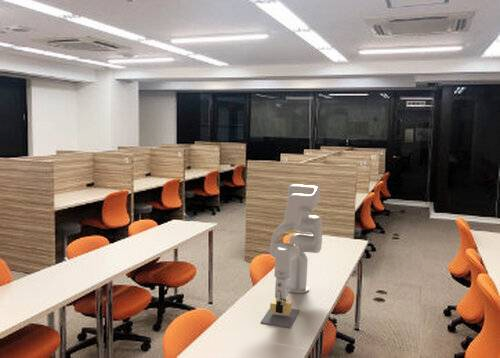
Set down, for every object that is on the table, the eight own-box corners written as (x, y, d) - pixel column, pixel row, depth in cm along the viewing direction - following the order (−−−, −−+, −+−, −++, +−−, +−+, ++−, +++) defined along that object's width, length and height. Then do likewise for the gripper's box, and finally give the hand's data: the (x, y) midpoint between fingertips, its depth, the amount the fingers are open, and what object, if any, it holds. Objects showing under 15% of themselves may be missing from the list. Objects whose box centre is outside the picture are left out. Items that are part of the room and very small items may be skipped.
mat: (272, 306, 228) (272, 305, 228) (299, 310, 224) (299, 309, 224) (260, 323, 209) (260, 321, 209) (290, 328, 205) (290, 327, 205)
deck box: (291, 310, 217) (291, 301, 217) (288, 315, 212) (288, 306, 211) (273, 307, 220) (273, 298, 220) (269, 312, 215) (270, 303, 214)
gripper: (285, 280, 204) (284, 318, 207) (294, 268, 221) (292, 304, 223) (269, 278, 207) (268, 315, 209) (279, 266, 223) (277, 301, 225)
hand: (280, 309), depth 216 cm, fingers closed on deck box, 6 cm apart
